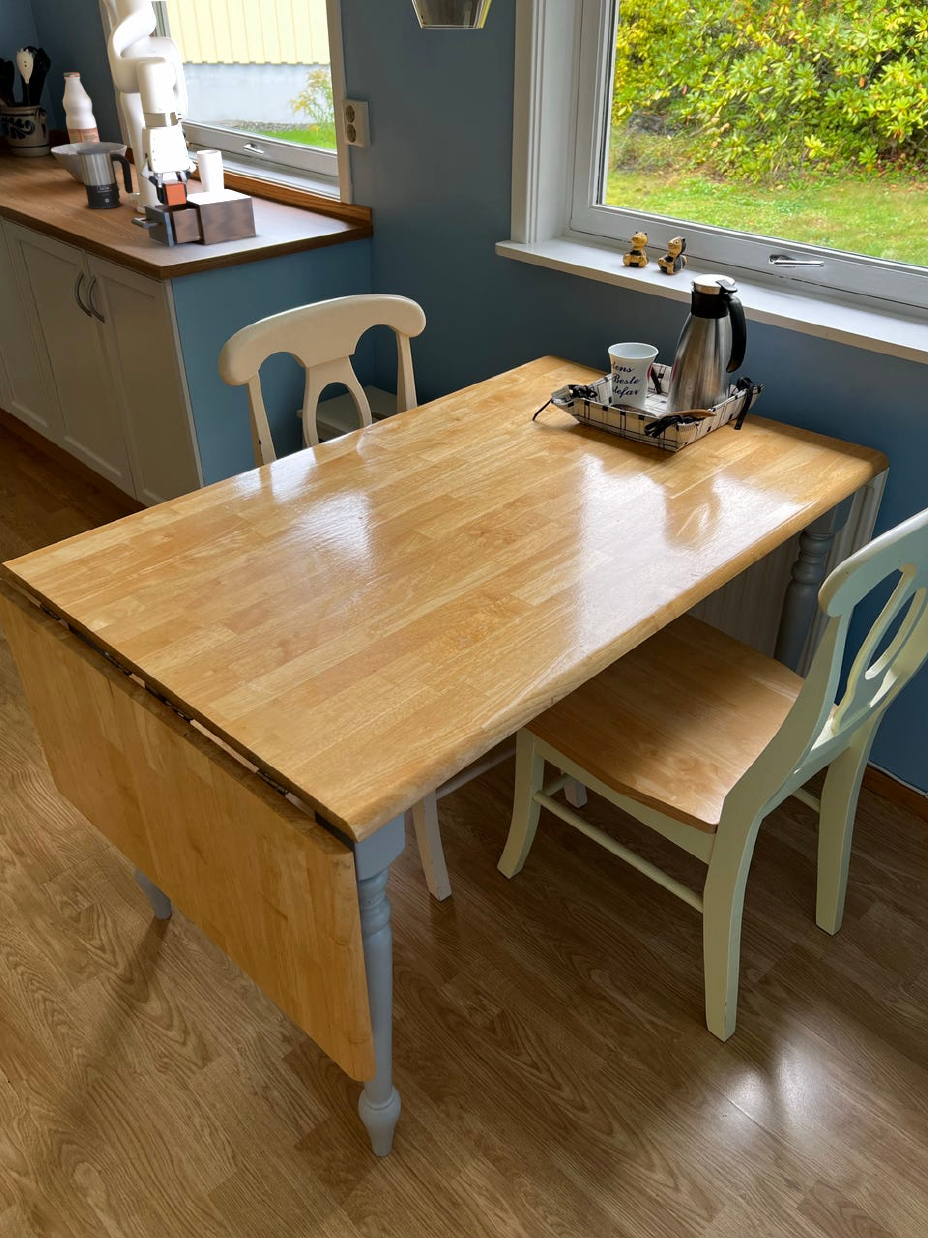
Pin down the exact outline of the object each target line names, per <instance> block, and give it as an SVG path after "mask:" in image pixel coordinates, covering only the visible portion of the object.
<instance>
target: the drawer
mask: <svg viewBox="0 0 928 1238" xmlns="http://www.w3.org/2000/svg"><path fill="white" fill-rule="evenodd" d="M144 208H145V218H137V217H132V218H131V219H130V222H131V224H132V225H133V226H136V227H139V228H141V229H143V230H147V231H148V237H149V239H151V240H153V241H156V242H158V243H160V244H163V245H165V246H167V247H169V248H170V247H175V243H176V244H182V243H188V242H195V241H194V240H200V239H203V235H202V228H201V221H200V214H199V207H196V206H193V205H190V204H188V203H185V204H178V205H171V206H169V205H164V204H162V205H155V207H152V206H150V205H144Z"/></svg>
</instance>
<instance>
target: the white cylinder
mask: <svg viewBox="0 0 928 1238" xmlns="http://www.w3.org/2000/svg"><path fill="white" fill-rule="evenodd" d="M196 161H197V168H198V173H199V177H200V181H201V186H202V191H203V193H205V192H212V191H219V190H225V181H224V180H225V179H224V165H223V164H224V163H223V156H222V151H220V150H217V149H205V150H199V151H197V152H196Z"/></svg>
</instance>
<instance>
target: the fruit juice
mask: <svg viewBox="0 0 928 1238" xmlns="http://www.w3.org/2000/svg"><path fill="white" fill-rule="evenodd" d="M63 77H64V80H65V86H64V94H63V99H62V106H63V108H64V111H65V113H66V116H65V123H66V128H67V132H68V138H69V143H70V144H75V143H83V142H100V137H99V132H98V126H97V122H96V118H95V115H94V114H93V102H92V99H91V97H90V96H89V95H88V94H87V91H86V90H85V89H84V86H83V84H82V83H81V75H80V73H79V72H74V71H73V72H72V71H71V72H64V73H63Z"/></svg>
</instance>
